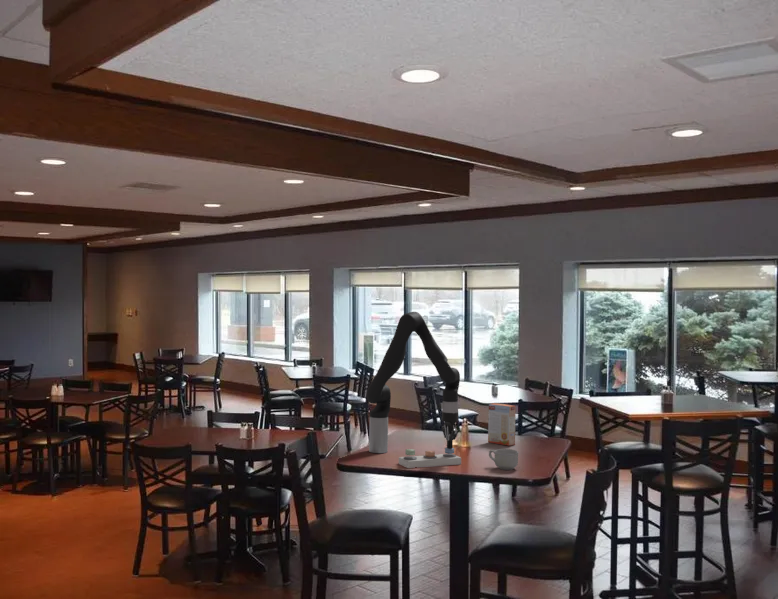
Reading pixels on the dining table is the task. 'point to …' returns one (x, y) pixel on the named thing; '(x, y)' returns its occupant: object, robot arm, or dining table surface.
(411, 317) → the robot arm
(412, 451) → the sage button
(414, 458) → the button panel
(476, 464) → the dining table surface
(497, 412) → the cracker box
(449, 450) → the slate button
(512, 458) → the teacup
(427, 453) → the terracotta button
